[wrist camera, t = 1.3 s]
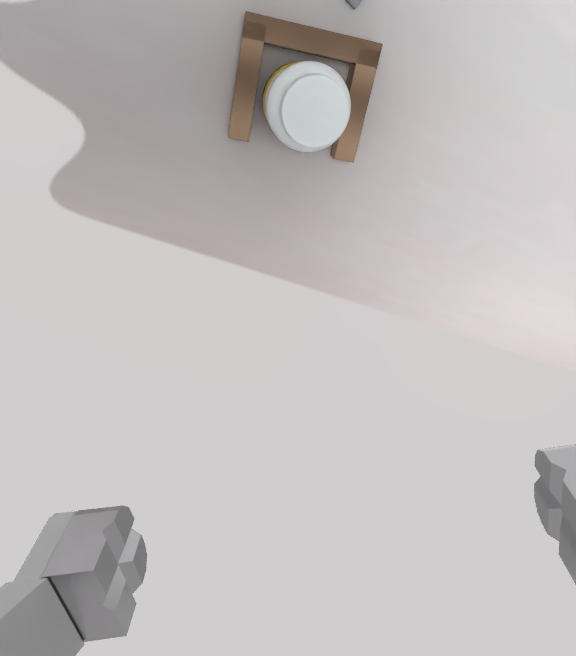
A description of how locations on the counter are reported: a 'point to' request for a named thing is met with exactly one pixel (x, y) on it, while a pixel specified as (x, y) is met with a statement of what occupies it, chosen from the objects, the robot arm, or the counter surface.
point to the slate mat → (353, 3)
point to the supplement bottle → (306, 105)
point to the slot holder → (311, 42)
